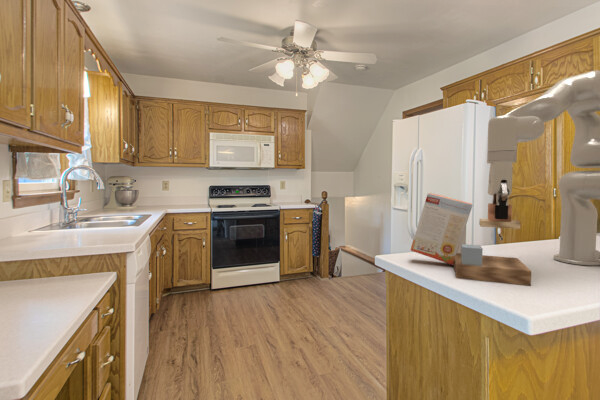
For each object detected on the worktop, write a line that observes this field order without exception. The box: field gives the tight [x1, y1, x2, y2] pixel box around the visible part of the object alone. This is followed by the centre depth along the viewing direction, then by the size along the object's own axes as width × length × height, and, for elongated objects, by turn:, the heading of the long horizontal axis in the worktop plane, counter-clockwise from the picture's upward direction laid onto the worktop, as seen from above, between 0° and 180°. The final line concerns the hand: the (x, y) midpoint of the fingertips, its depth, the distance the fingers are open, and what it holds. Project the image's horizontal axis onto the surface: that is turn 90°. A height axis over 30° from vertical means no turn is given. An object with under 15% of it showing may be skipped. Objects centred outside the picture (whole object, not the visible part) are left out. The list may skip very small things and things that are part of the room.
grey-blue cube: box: [461, 243, 484, 266], centre depth 93 cm, size 5×5×5 cm
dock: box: [453, 253, 532, 287], centre depth 96 cm, size 18×16×4 cm
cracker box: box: [410, 192, 474, 266], centre depth 107 cm, size 14×6×21 cm, turn 63°
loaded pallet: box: [478, 202, 521, 230], centre depth 97 cm, size 10×6×7 cm, turn 64°
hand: (499, 217), depth 97 cm, fingers closed on loaded pallet, 5 cm apart
